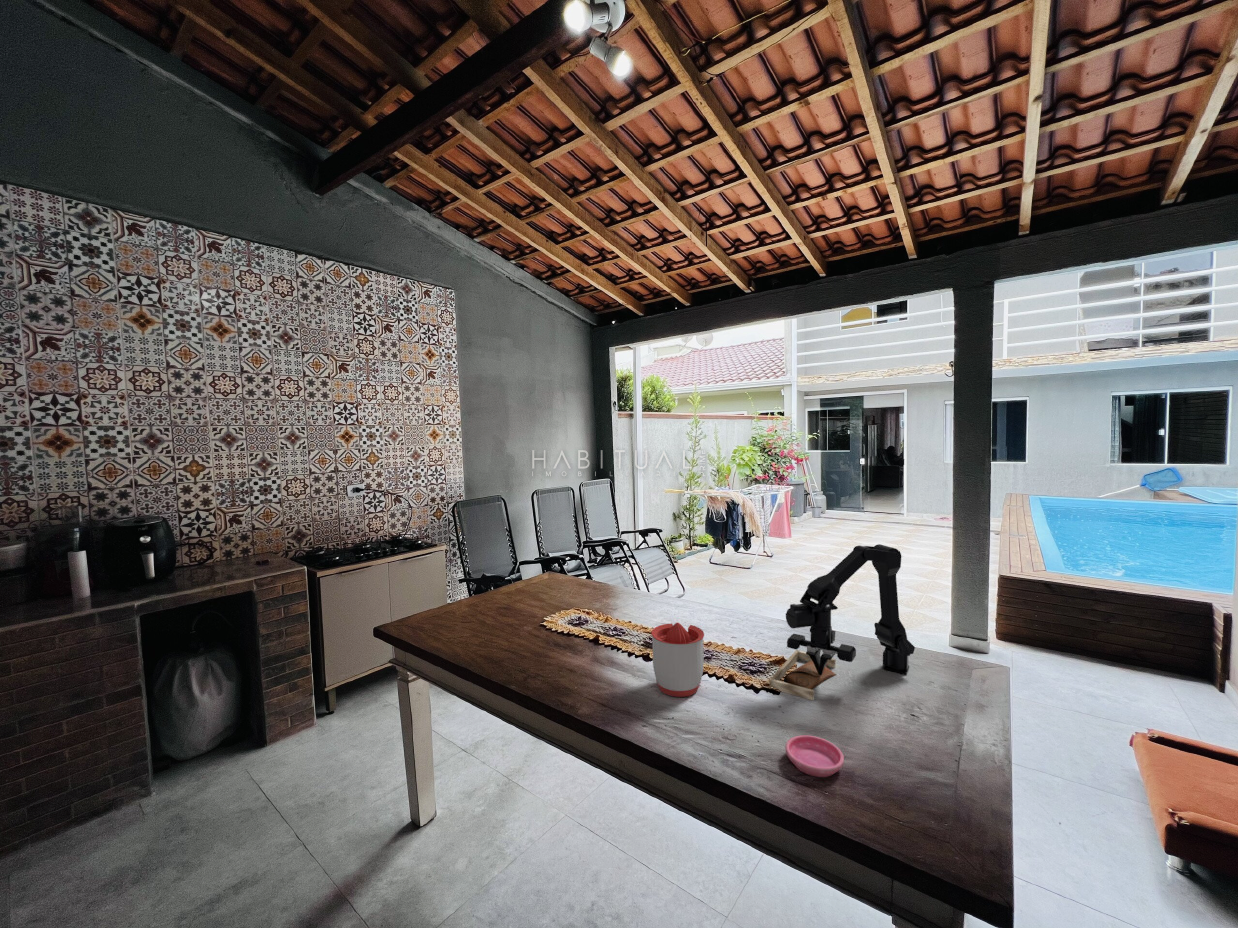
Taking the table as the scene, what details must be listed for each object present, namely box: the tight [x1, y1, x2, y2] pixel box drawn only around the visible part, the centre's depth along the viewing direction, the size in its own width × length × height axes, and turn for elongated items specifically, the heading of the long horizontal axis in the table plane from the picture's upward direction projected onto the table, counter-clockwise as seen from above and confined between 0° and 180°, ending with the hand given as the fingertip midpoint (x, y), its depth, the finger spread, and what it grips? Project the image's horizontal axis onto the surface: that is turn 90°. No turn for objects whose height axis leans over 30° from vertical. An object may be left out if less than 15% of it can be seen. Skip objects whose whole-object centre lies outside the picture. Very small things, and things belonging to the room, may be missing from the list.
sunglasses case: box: [783, 661, 837, 690], centre depth 155 cm, size 18×7×7 cm, turn 131°
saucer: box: [784, 734, 845, 778], centre depth 115 cm, size 12×12×3 cm
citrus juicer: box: [651, 622, 705, 698], centre depth 151 cm, size 16×17×20 cm
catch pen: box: [769, 649, 837, 701], centre depth 155 cm, size 12×25×2 cm, turn 143°
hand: (820, 674), depth 152 cm, fingers closed
